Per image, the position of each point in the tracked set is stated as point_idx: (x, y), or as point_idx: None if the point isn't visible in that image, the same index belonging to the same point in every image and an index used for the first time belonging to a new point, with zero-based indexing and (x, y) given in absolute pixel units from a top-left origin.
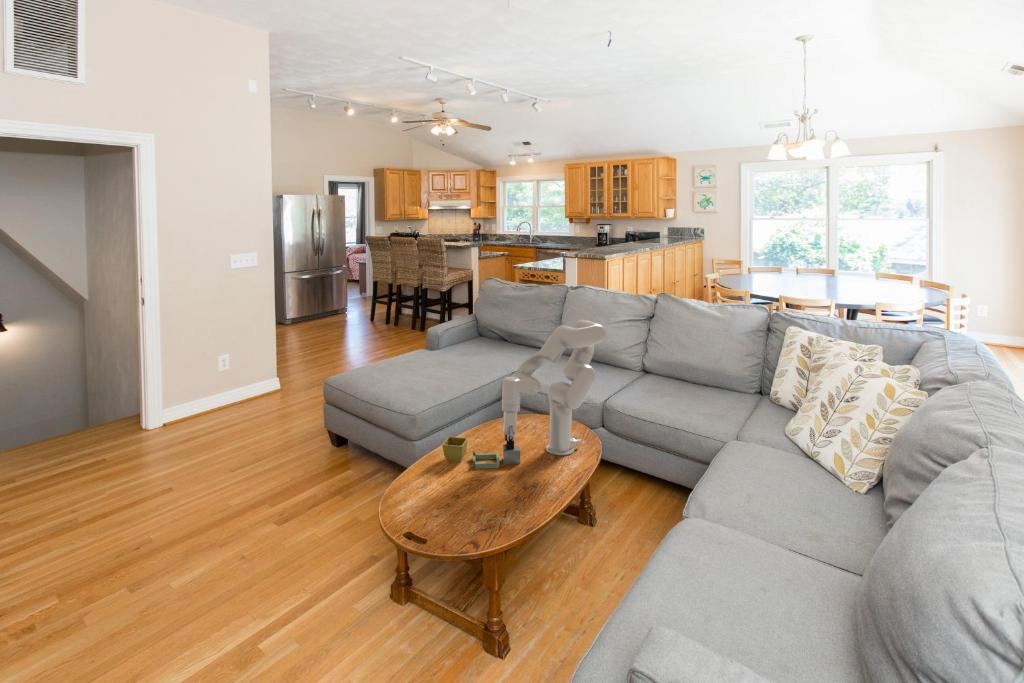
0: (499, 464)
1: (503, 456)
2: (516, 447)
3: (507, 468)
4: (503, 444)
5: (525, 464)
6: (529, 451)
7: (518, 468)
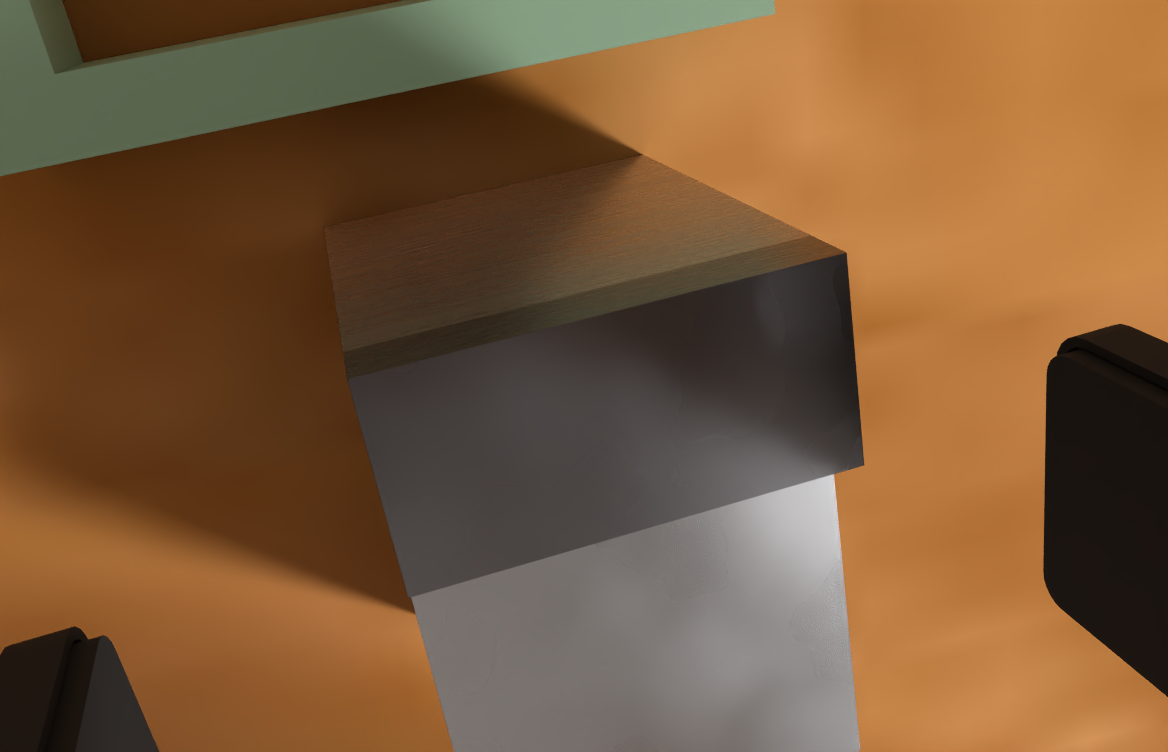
0: (1, 168)
1: (435, 250)
2: (728, 707)
3: (63, 382)
4: (847, 271)
5: (406, 732)
6: (1045, 651)
7: (143, 643)
